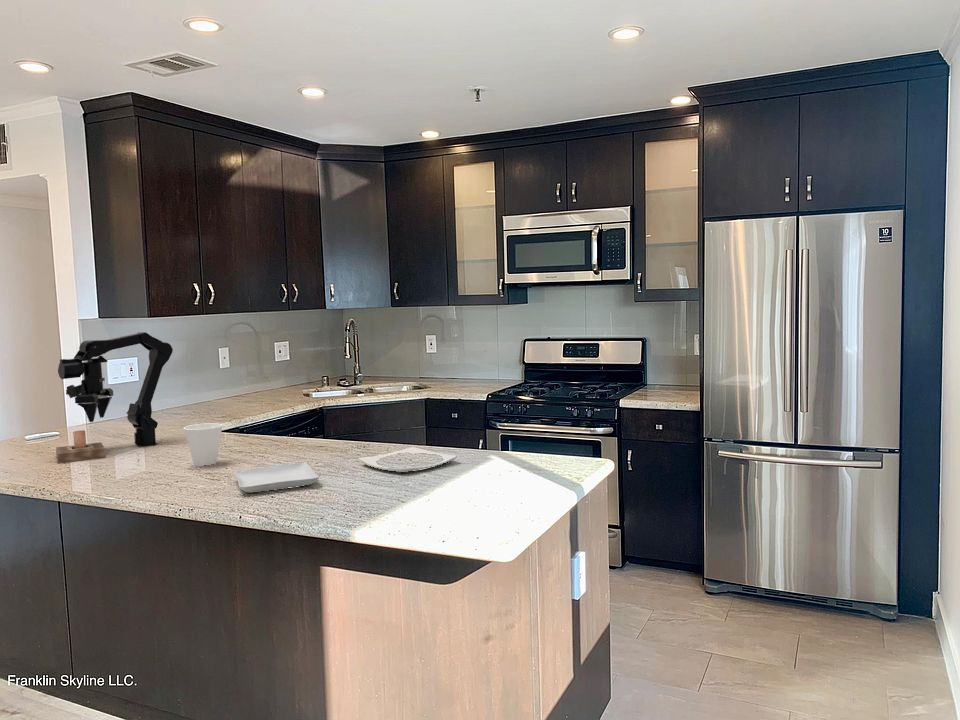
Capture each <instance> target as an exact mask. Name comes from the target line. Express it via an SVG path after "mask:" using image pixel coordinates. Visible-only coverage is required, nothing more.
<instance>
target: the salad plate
mask: <svg viewBox="0 0 960 720" xmlns="http://www.w3.org/2000/svg"><path fill="white" fill-rule="evenodd" d="M232 472H233V475H234V476H235V478H236V480H237V484H238V488H239V489H240V490H242V492H245V493H248V494H249V493H250V494H251V493H253V492H259V493H262V492H261V491H267V490H274V489H282V488H288V487H296V486H303V485H307V486H310V485H313V484H314V483H315V482H317V481H318V480H319V478H320V477H319V475H318V474H317V473H316V472H315V470H313V469H312V467H311V466H310V465H309V464H308V463H307V461H306V462H305V461H303V462H296V463H288V464H286V463H285V464H279V465H270V466H269V465H268V466H262V467H254V468H245V469H241V470H234V471H232ZM267 492H268V491H267ZM253 494H254V493H253Z"/></svg>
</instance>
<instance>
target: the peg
mask: <svg viewBox="0 0 960 720" xmlns="http://www.w3.org/2000/svg"><path fill="white" fill-rule="evenodd" d="M72 433H73V434H72V435H73V445H74V449H79V448H86V444H87V442H86V430H83V429H82V430H76V431H75V430H74V431H72Z"/></svg>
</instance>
